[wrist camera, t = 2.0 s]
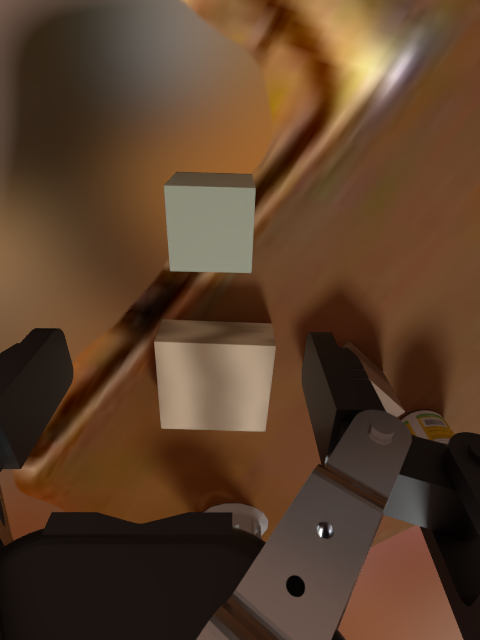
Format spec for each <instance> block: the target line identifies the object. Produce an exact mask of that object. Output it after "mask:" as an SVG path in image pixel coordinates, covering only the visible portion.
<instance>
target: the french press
mask: <svg viewBox="0 0 480 640" xmlns="http://www.w3.org/2000/svg"><path fill="white" fill-rule="evenodd" d="M204 512H233V513H232V527H236V528H239V529H242V530H245V531H247V532H249V533H252V534H253V535H255V536H257V537H258V538H260V539H262V537H261V536H262V534H263V533H264V532H265V531H266V529H267V526H268V520H267V518H266V517H265V515H264V513H263V512H261V511H259V510H258V509H256V508H254V507H252V506H248V505H244V504H240V503H233V504H221V505H217V506H213V507H211V508H209V509H208V510H206V511H204Z"/></svg>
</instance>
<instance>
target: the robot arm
mask: <svg viewBox="0 0 480 640" xmlns="http://www.w3.org/2000/svg"><path fill="white" fill-rule="evenodd" d="M72 380H73V365H72V361H71V358H70V354H69V350H68V347H67V343H66V339H65V335H64V333H63V331H62V330H61V329H57V328H35V329H33V330H32V331H31V332H30V333H29V334H28V335H27V336H26V337H25V338H24V339H23V340H22V342H21V343H17V344H15V345H13V346H12V347H10V348H8V349H7V350H5V351H3V352H2V353H0V472H1V470H2V469H21V468H22V466H23V465H24V463H25V461H26V460H27V458H28V456H29V454H30V453H31V451H32V449H33V448H34V446H35V444H36V443H37V441H38V439H39V438H40V436H41V434H42V433H43V431H44V429H45V428H46V426H47V424H48V422H49V421H50V419H51V417H52V416H53V414H54V412H55V411H56V409H57V407H58V406H59V404H60V402H61V401H62V399H63V397H64V396H65V394H66V392H67V391H68V389H69V387H70V385H71V383H72ZM302 387H303V391H304V395H305V399H306V403H307V407H308V411H309V416H310V420H311V424H312V428H313V432H314V436H315V440H316V444H317V448H318V452H319V456H320V460H321V464H322V465H321V464H319V465H317V466H316V468H315V469H314V470H313V472H312V473H311V475H310V476H309V478H308V479H307V481H306V482H305V484H304V485H303V487H302V488H301V490H300V491H299V493H298V495H297V496H296V498H295V499H294V501H293V502H292V504H291V505H290V507H289V508H288V510H287V511H286V513H285V514H284V516H283V518H282V519H281V521H280V522H279V524H278V525H277V527H276V528H275V530H274V531H273V533H272V534H271V536H270V538H269V539H268V541H267V542H264V541H263V540H262V539H260V538H258V537H257V536H255V535H253V534H252V533H249V532H247V531H245V530H242V529H239V528H236V527H232V513H233V512H188V513H184V514H180V515H176V516H172V517H168V518H164V519H160V520H156V521H152V522H148V523H144V524H137V523H133V522H129V521H126V520H122V519H118V518H115V517H111V516H108V515H104V514H101V513H97V512H52V513H51V515H50V518H49V519H48V522H47V524H46V526H45V528H44V529H40V530H38V531H35V532H32V533H29V534H27V535H25V536H22V537H21V538H18V539H16V540H14V541H13V538H12V534H11V531H10V525H9V521H8V517H7V513H6V509H5V504H4V499H3V495H2V491H1V486H0V640H345V638H344V637H343V636H342V634H341V633H340V632H339V631H338V628H339V625H340V622H341V620H342V618H343V615H344V613H345V610H346V607H347V605H348V603H349V600H350V598H351V595H352V592H353V590H354V587H355V585H356V582H357V580H358V577H359V575H360V572H361V570H362V567H363V565H364V562H365V560H366V557H367V555H368V552H369V550H370V547H371V545H372V542H373V540H374V537H375V535H376V532H377V530H378V527H379V525H380V522H381V520H382V517H383V515H386V516H389V517H392V518H395V519H398V520H402V521H405V522H408V523H411V524H414V525H417V526H420V528H421V531H422V533H423V536H424V538H425V541H426V544H427V546H428V549H429V551H430V554H431V557H432V559H433V561H434V564H435V567H436V569H437V572H438V575H439V577H440V580H441V583H442V585H443V588H444V590H445V593H446V595H447V598H448V600H449V603H450V606H451V608H452V611H453V614H454V616H455V619H456V621H457V624H458V627H459V629H460V632H461V634H462V637H463V639H464V640H480V435H479V434H475V433H469V432H462V433H457V434H455V435H453V436H452V437H451V438H450V440H449V442H448V444H444V443H440V442H436V441H432V440H428V439H424V438H421V437H417V436H415V435H412V434H411V432H410V430H409V429H408V427H407V426H406V425H405V424H404V423H403V422H402V421H401V420H400V419H399V418H397V417H395V416H394V415H392V414H390V413H387V412H386V410H385V408H384V406H383V404H382V402H381V400H380V398H379V396H378V394H377V393H376V391H375V389H374V387H373V385H372V383H371V381H370V380H369V377H368V375H367V373H366V371H365V370H364V367H363V365H362V363H361V361H360V359H359V357H358V356H357V355H356V354H354V353H353V352H352V351H351V350H350V349H349V348H343V347H338V345H337V343H336V341H335V339H334V336H333V334H332V333H331V332H308V334H307V338H306V345H305V352H304V359H303V366H302Z"/></svg>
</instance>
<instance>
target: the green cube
mask: <svg viewBox="0 0 480 640" xmlns="http://www.w3.org/2000/svg"><path fill="white" fill-rule="evenodd" d="M164 194H165V207H166V220H167V234H168V248H169V261H170V271H193V272H236V273H251V270H252V249H253V229H254V208H255V184H254V180H253V176H252V174H233V173H199V172H176V173H175V174H174V175H173V176H172V177H171V179H170V180H169V181H168V182H167V183H166V184H165V185H164Z"/></svg>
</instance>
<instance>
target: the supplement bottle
mask: <svg viewBox="0 0 480 640" xmlns="http://www.w3.org/2000/svg"><path fill="white" fill-rule="evenodd" d="M401 421H402V422H403V423H404V424H405V425H406V426H407V427H408V429H409V430H410V432H411V434H412V435H415V436H417V437H421V438H424V439H428V440H432V441H436V442H440V443H444V444H448V442H449V440H450V438H451V437H452V436H453V435H454V433H453V432H452V430H451V429H450V427H449V426H448V424H447V423H446V421H445V420H444V419H443V417H442V416H441V415H439V414H438V413H436V412H433V411H427V410H422V411H416V412H413V413H411V414H409V415H407V416H405V417H404V418H403V419H402V420H401Z"/></svg>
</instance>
